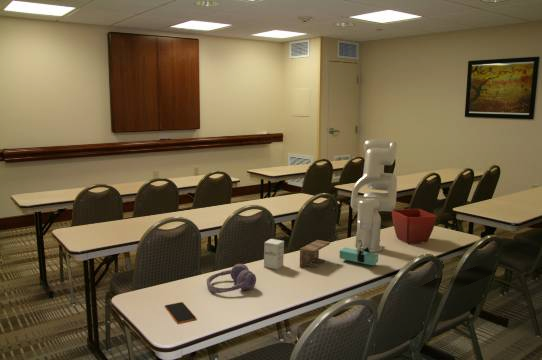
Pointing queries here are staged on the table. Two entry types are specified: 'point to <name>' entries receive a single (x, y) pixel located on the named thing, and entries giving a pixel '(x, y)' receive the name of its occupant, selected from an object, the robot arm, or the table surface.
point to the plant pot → (413, 225)
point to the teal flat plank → (353, 256)
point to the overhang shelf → (312, 253)
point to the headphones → (238, 274)
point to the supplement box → (273, 253)
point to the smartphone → (180, 312)
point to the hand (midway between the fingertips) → (363, 259)
